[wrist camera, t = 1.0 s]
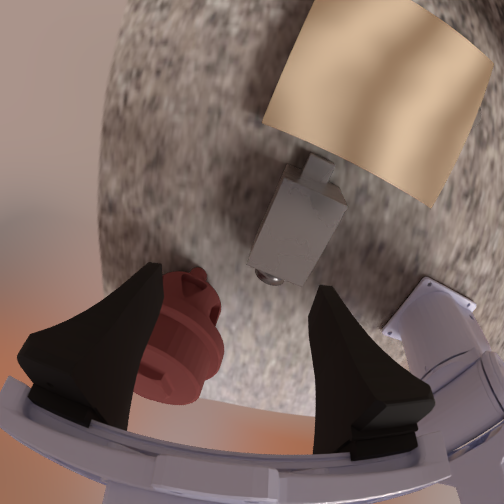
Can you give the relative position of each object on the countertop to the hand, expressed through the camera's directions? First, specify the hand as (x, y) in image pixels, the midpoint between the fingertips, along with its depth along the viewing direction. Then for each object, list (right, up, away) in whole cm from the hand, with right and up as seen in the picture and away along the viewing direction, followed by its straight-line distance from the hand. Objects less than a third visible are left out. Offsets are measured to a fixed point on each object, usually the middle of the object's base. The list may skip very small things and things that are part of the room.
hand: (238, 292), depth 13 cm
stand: (+11, +14, +4) cm, 18 cm away
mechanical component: (-5, -2, +16) cm, 17 cm away
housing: (+4, +5, +10) cm, 12 cm away
